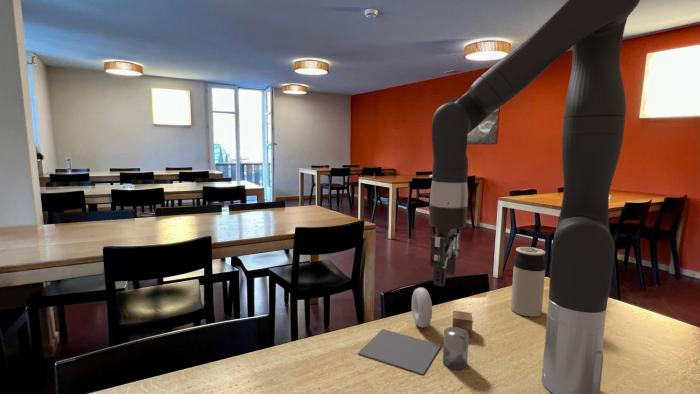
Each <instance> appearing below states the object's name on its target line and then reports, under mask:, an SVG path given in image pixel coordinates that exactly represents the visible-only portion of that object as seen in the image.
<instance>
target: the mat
mask: <svg viewBox="0 0 700 394" xmlns="http://www.w3.org/2000/svg"><path fill="white" fill-rule="evenodd" d="M441 347H442V345H441V344H439V343H435V342H431V341H429V340H428V341H427V340H425V339H421V338H417V337H413V336H410V335H406V334H402V333H398V332H395V331H391V330H388V329H385V328H381V330H380V331H379V332H377V334H376V335H375V336H373V337H372V339H371V340H369V342H367V343H366V344H365V345H364V346H363V347H362V348H361V349H360V351H358V353H357V355H359V356H363V357H366V358H369V359H372V360H375V361H379V362H380V363H384V364H387V365H389V366H394V367H397V368H400V369H403V370H406V371H409V372H411V373H412V372H413V373H416V374H419V375H420V376H424V375H425V373H426V372H427V370H428V368H429V367H430V365H431V363H432V361H433V360H434V359H435V358H436V356H437V353H438V352H439V351H440V349H441Z"/></svg>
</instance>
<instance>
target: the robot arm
mask: <svg viewBox="0 0 700 394" xmlns="http://www.w3.org/2000/svg"><path fill="white" fill-rule="evenodd" d="M640 1H641V0H566V1H565V2H564V3H563V4H562V5H561V6H560V7H559V8H557V10H556V11H554V13H553V14H552V15H551V16H550V17H549V18H548V19H547V20H546V21H545V22H544V23H542V25H541V26H539V27H538V28H537V29H536V30H535V31H534V32H532V33H531V34H530V35H529V36H528V37H527V38H526V39H524V40H523V41H522V42H521V43H520V44H518V45H517V46H516V47H514V49H512V50H511V51H509V52H508V53H507V54H506V55H504V56H503V57H502V58H501V59H500V60H499V61H497V62H495V64H493V66H491V67H490V68H489V69H488V70H486V71H485V72H484V73H483V74H482V75H480V76H479V77H478V78H477V79H476V80H475V81H474V82H473V83H472V84H471V86H470V87H469V89H468V90H467V92H465V93H464V94H462V96H461V97H459V98H458V99H457V100H456V101H454V102H446V103H443V104H441V106H439V107H438V108H437V109H436V110H435V111H434V114H433V115H432V121H431V144H432V152H433V153H432V155H433V161H432V171H431V174H432V175H431V186H430V192H429V193H430V194H429V211H428V212H429V214H428V215H429V216H428V223H429V226H431V227H432V228H433V227H434V228H436V229H437V232H436V234H435V235H432V236H431V238H430V253H429V254H430V257H429V267H433V278H432V279H433V281H432V283H433V286H438V287H444V286H445V285H446V275H452V276H453V275H455V274H456V272H457V271H456V269H457V258H458V256H459V253H460V251H461V230H462V229H464V228H466V226H467V220H468V219H467V218H468V203H469V201H468V200H469V191H468V178H469V177H468V173H469V159H468V156H467V155H468V154H467V150H468V148H467V147H468V138H469V137H468V135H469V134H470V133H471V132H473V130H474V129H476V128H477V127H478V126H479V125H480V124H482V123H483V122H484V121H485V120H486V119H487V118H488V117H489V116H490V115H491V114H492V113H493V112H495V111H497V110H498V109H500V108H502V106H504V105H505V104H506V103H508V102H509V101H511V100H512V99H513V98H514V97H516V96H517V95H518V94H520V92H522V91H523V90H524V89H525V88H526V87H528V86H529V85H531V83H532V82H534V81H535V80H536V79H537V78H538V77H539V76H541V75H542V73H543V72H545V70H546V69H548V68H549V67H550V66H551V65H552V64H553V63H554V62H555V61H556V60H557V59H559V58H560V57H561V56H562V55H564V54H565V53H566V52H568V50H569V49H572V62H571V70H570V76H569V81H568V86H567V91H566V92H567V93H566V98H565V105H564V114H563V122H562V123H563V124H562V134H561V162H562V163H561V165H562V175H563V176H562V177H563V194H562V201H561V206H560V212H559V217H558V221H557V225H556V228H555V231H554V235H553V240H552V246H551V247H552V249H551V259H550V260H551V261H550V276H549V284H548V285H549V287H548V288H549V291H548V303H547V316H546V327H545V336H544V340H545V341H544V348H543V349H544V350H543V351H544V352H543V360H542V371H541V383H542V385H543V387H545V389H547V390H548V392H551V394H601V385H602V377H603V376H602V375H603V364H604V350H603V346H604V335H605V325H606V316H607V308H608V307H607V306H608V300H609V297H610V293H611V285H612V279H613V270H614V263H615V262H614V261H615V260H614V259H615V251H616V250H615V242H614V239H613V236H612V235H611V232H610V221H609V219H610V218H609V216H610V215H609V214H610V213H609V211H610V209H609V206H610V192H611V191H610V190H611V186H612V183H613V179H614V176H615V173H616V169H617V168H618V167H617V166H618V163H619V159H620V156H621V151H622V146H623V141H624V140H623V139H624V132H625V125H626V115H627V113H626V111H627V108H626V107H627V104H626V94H625V93H626V92H625V87H624V82H623V81H624V80H623V77H622V72H621V64H620V63H621V60H620V59H621V49H622V44H623V39H624V33H625V28H626V24H627V21H628V17H629V16H630V15H631V13H633V11H634V10H635V9H636V7H637V6H638V4H639V3H640ZM438 259H439V260H438Z"/></svg>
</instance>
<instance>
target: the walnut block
mask: <svg viewBox="0 0 700 394" xmlns="http://www.w3.org/2000/svg"><path fill="white" fill-rule="evenodd" d="M473 323H474V320H473V314H472V312H469V311H460V310H459V311H458V310H452V325H451V327H457V328H461V329H464V330H466V331H467V332H468V333H469V339H470V338H471V339H472V338H473V337H472V336H473V334H472V333H473Z"/></svg>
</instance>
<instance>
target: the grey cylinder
mask: <svg viewBox="0 0 700 394" xmlns="http://www.w3.org/2000/svg"><path fill="white" fill-rule="evenodd" d="M443 333H444V334H443V352H442V353H443V354H442V364H443V366H444V367H446V368H447V369H449V370H452V371H458V372H459V371H465V370H466V369H467V368H468V358H469V357H468V356H469V355H468V354H469V339H470V337H469V333H468V332H467V331H466V330H464V329H461V328H457V327H452V326H450V327H446V328H445V329H444V332H443Z"/></svg>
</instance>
